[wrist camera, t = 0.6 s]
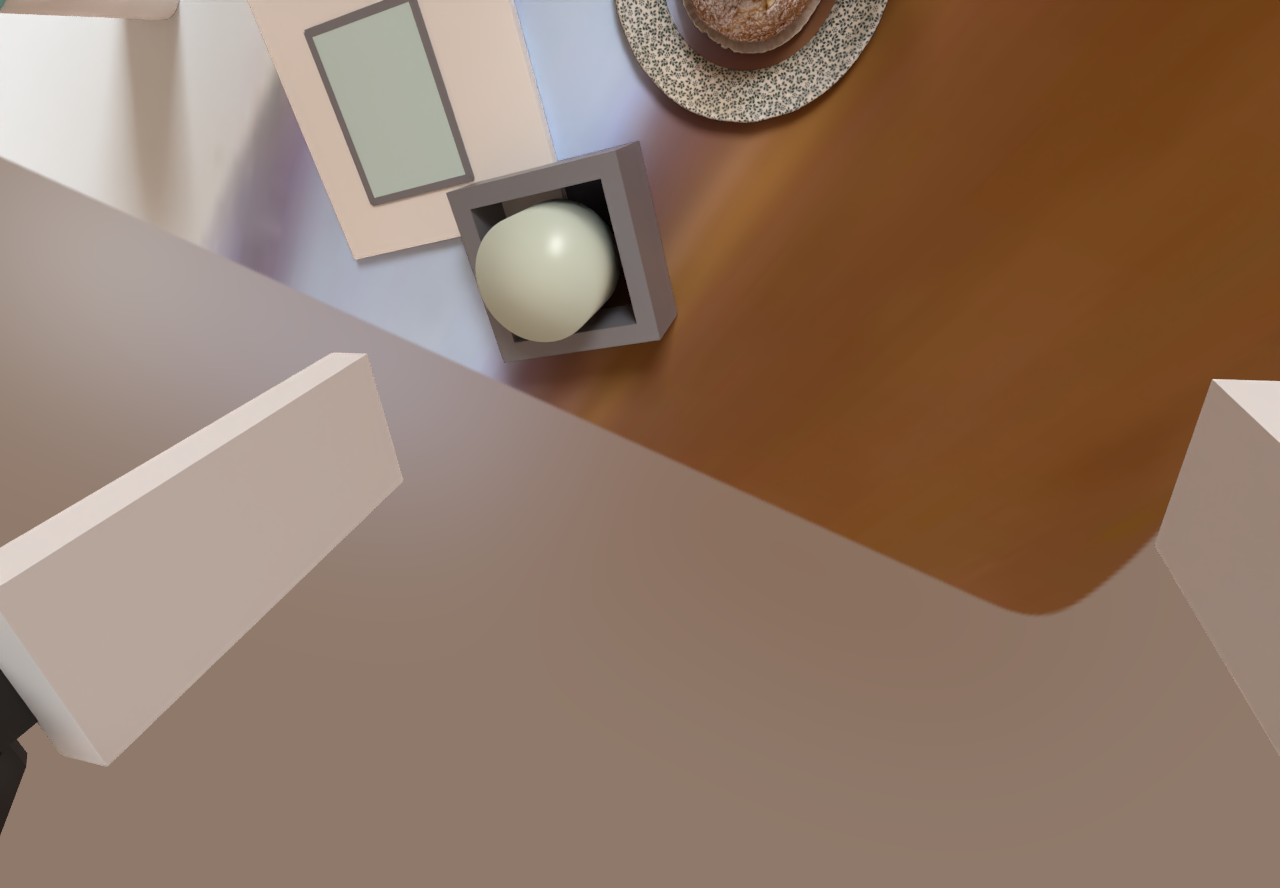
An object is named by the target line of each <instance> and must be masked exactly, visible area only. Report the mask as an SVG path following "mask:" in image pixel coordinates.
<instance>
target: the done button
mask: <svg viewBox="0 0 1280 888" xmlns="http://www.w3.org/2000/svg"><path fill="white" fill-rule="evenodd" d="M620 270H621V259H620V254H619V250H618V246H617V242H616V239H615V237H614V235H613V233H612V231H611V229H610V228H609V226H608V225H607V224H606V222H605V221H604V220H603V219H602V218H601V217H600V216H599V215H598V214H597V213H596V212H595V211H593V210H592V209H591V208H589V207H587V206H586V205H584V204H581V203H579V202H576V201H573V200H569V199H550V200H546V201H542V202H540V203H538V204H536V205H534V206H531V207H529V208H527V209H525V210H523V211H521V212H519V213H517V214H515V215H513V216H510V217H508V218H506V219H504V220H502V221H500V222H499V223H497V224H496V225H495V226H493V227H492V228H491V229H490V230H489V231H488V233H487V234H486V235H485V237H484V238H483V240H482V242H481V244H480V246H479V249H478V252H477V257H476V266H475V271H476V280H477V285H478V289H479V292H480V295H481V297H482V299H483V301H484V303H485V305H486V307H487V308H488V310H489V311H490V313H491V314H492V315H493V316H494V318H495V319H496V320H497V321H498V322H499V323H500V324H501V325H502V326H504V327H505V328H506V329H508V330H509V331H510V332H512V333H514V334H515V335H517V336H520V337H522V338H524V339H528V340H531V341H536V342H554V341H558V340H562V339H564V338H567V337H569V336H570V335H572V334H574V333H575V332H576V331H578V330H579V329H580V328H581V327H582V326H583V325H584V324H585V323H586V322H587V321H588V320H589V319H590V318H591V317H592V316H593V315H594V314H595V313H596V312H597V311H598V310H599V309H600V308H601V307H602V306H603V305H604V304H605V303H606V302H607V301H608V300H609V298H610V297H611V296H612V294H613V293H614V291H615V289H616V287H617V284H618V281H619V277H620Z"/></svg>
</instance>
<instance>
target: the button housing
mask: <svg viewBox="0 0 1280 888" xmlns="http://www.w3.org/2000/svg"><path fill="white" fill-rule="evenodd" d="M597 179H601V182H602V186H603V190H604V194H605V198H606V202H607V206H608V210H609V214H610V218H611V222H612V226H613V230H614V234H615V238H616V242H617V246H618V250H619V254H620V258H621V262H622V266H623V270H624V274H625V278H626V282H627V286H628V290H629V294H630V298H631V302H632V304H628V305H622V306H616V307H610V308H604V309H599V310H598V311H597V312H596V313H595V314H594V315H593V316H592V317H591V318H590V319H589V320H588V321H587V322H586V323H585V324H584V325H583V326H582V327H581V328H580V329H579V330H578V331H576V332H575V333H574V334H572V335H570V336H569V337H567V338H564V339H562V340H558V341H554V342H536V341H531V340H528V339H524V338H522V337H520V336H517V335H515V334H514V333H512V332H510V331H509V330H508V329H506V328H505V327H504V326H502V325H501V324H500V323H499V322H498V321H497V320H496V319H495V318H494V316H493V315H492V314H491V313H490V311H489V310H488V308H487V307H486V305H485V303H484V305H485V308H486V311H487V314H488V317H489V320H490V323H491V326H492V329H493V331H494V334H495V337H496V340H497V343H498V346H499V349H500V352H501V355H502V358H503V361H504V363H505V362H512V361H519V360H525V359H532V358H539V357H546V356H553V355H560V354H567V353H574V352H581V351H587V350H594V349H601V348H608V347H615V346H622V345H629V344H636V343H643V342H649V341H656V340H661V338H662V337H663V335H664V334H665V332H666V331H667V329H668V328H669V326H670V325H671V323H672V322H673V320H674V319H675V318H676V316H677V315H678V314H677V310H676V305H675V301H674V296H673V292H672V287H671V283H670V278H669V274H668V269H667V265H666V260H665V256H664V251H663V247H662V242H661V238H660V233H659V229H658V224H657V220H656V215H655V211H654V206H653V201H652V197H651V192H650V188H649V183H648V179H647V174H646V170H645V165H644V161H643V156H642V152H641V147H640V143H639V141H636V142H632V143H628V144H624V145H620V146H616V147H612V148H608V149H604V150H601V151H597V152H593V153H589V154H585V155H581V156H577V157H573V158H569V159H565V160H561V161H557V162H554V163H551V164H547V165H543V166H539V167H535V168H531V169H527V170H523V171H519V172H515V173H511V174H507V175H503V176H499V177H495V178H491V179H487V180H483V181H479V182H476V183H473V184H470V185H467V186H464V187H461V188H459V189H456V190H453V191H450V192H447V193H446V195H447V198H448V200H449V203H450V206H451V209H452V212H453V215H454V218H455V221H456V224H457V227H458V230H459V232H460V235H461V238H462V241H463V244H464V247H465V250H466V253H467V256H468V259H469V262H470V265H471V267H472V270H473V273H474V276H475V279H476V271H475V266H476V257H477V252H478V249H479V246H480V244H481V242H482V240H483V238H484V237H485V235H486V234H487V233H488V231H489V230H490V229H491V228H492V227H493V226H495V225H496V224H497V223H499V222H500V221H502V220H504V219H506V215H505V212H504V208H503V205H502V202H504V201H508V200H512V199H517V198H521V197H525V196H529V195H534V194H538V193H542V192H546V191H551V190H555V189H559V188H563V187H567V186H572V185H576V184H580V183H584V182H589V181H593V180H597ZM476 282H477V280H476ZM483 302H484V301H483Z"/></svg>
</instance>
